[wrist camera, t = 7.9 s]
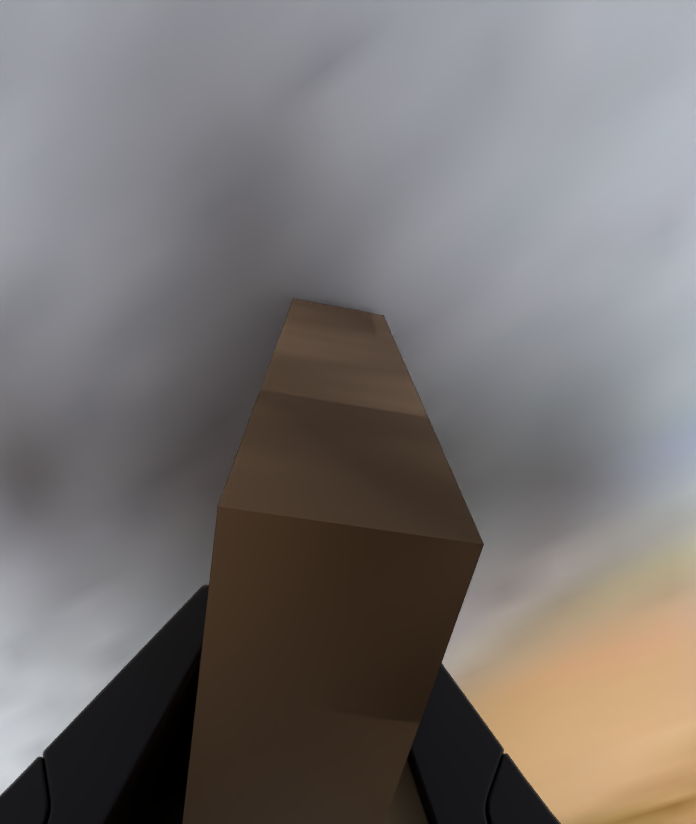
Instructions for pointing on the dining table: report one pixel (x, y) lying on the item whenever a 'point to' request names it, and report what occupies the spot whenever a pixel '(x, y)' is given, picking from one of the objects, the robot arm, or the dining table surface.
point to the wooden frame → (326, 584)
